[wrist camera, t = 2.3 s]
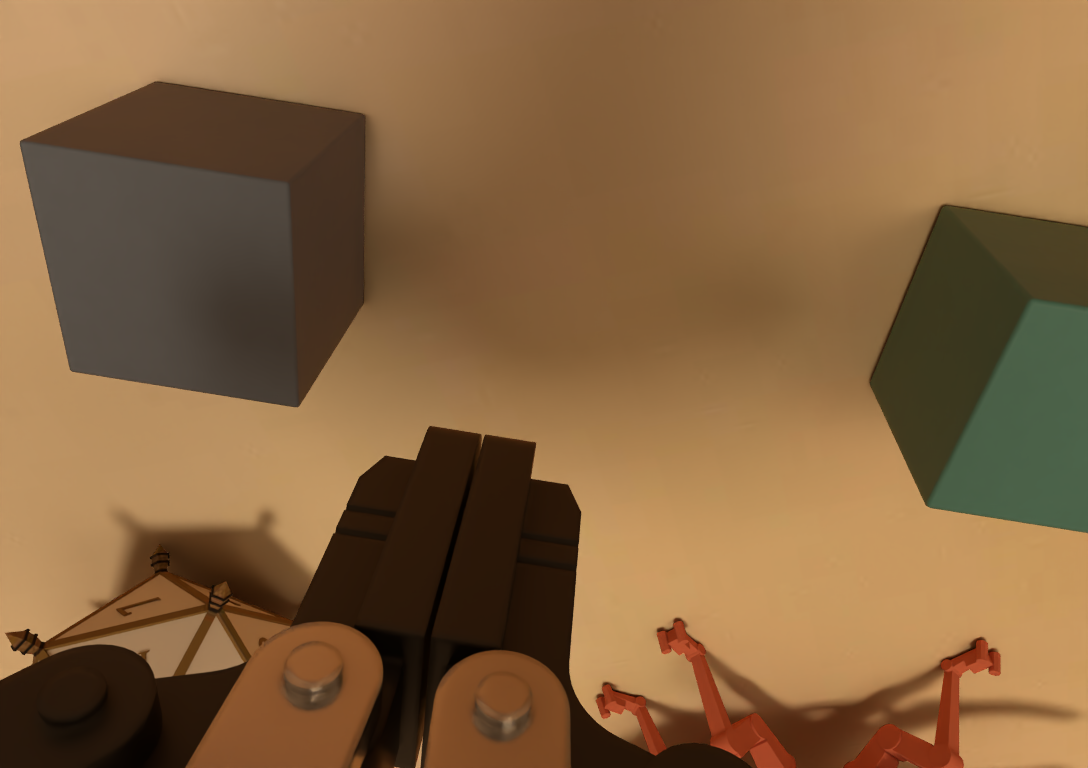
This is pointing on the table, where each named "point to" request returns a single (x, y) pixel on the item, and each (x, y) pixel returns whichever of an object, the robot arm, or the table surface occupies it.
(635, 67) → the table surface
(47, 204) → the slate block
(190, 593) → the game die
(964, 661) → the beetle
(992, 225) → the teal block
